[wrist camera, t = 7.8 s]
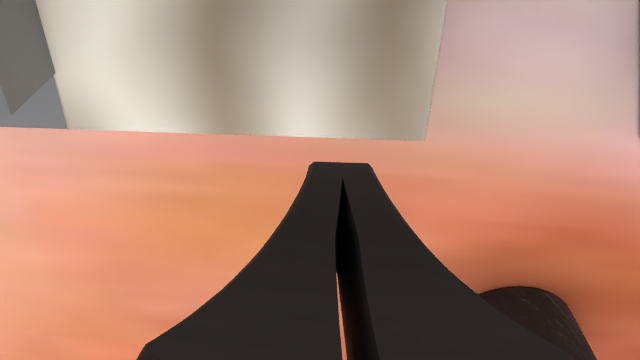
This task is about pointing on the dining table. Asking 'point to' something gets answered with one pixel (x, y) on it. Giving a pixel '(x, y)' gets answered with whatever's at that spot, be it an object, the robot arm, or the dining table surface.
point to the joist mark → (39, 110)
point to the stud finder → (21, 54)
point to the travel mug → (542, 318)
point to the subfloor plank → (247, 65)
